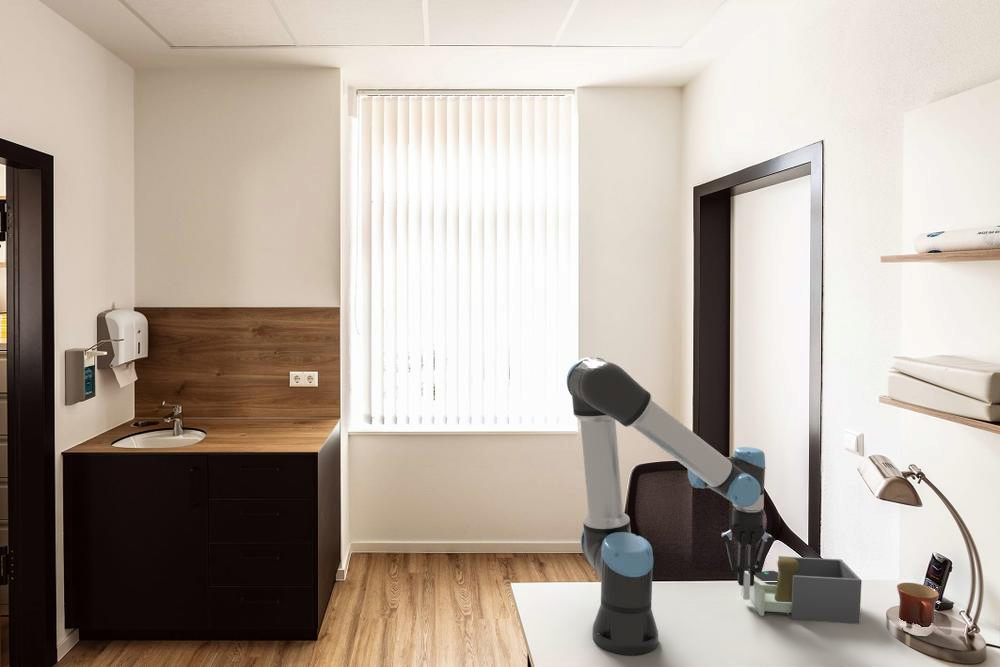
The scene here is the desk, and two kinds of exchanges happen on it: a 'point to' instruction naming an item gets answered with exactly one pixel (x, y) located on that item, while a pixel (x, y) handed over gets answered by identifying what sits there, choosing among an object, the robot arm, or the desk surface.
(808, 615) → the grey drawer box
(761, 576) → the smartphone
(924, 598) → the mug
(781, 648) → the desk surface
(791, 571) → the cork
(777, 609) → the pale green drawer
